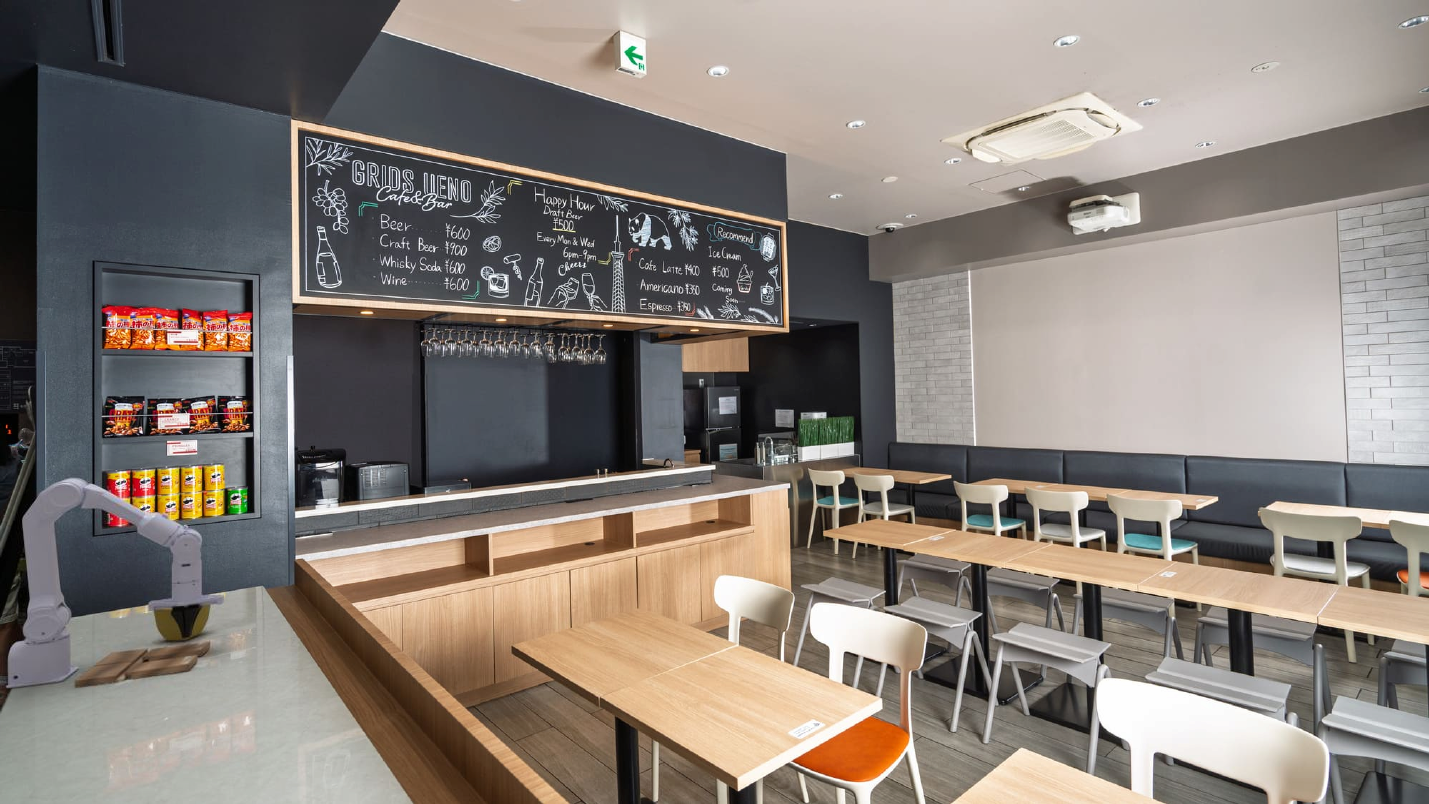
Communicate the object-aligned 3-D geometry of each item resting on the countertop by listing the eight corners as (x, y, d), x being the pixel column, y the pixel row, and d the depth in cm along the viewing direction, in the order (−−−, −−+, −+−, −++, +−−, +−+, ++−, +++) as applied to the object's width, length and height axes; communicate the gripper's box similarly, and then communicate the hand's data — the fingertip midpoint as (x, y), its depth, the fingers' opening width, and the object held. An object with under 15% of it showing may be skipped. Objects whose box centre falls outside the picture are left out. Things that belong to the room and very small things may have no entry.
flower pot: (186, 643, 173) (186, 608, 173) (152, 644, 173) (152, 608, 173) (212, 632, 181) (212, 598, 181) (180, 632, 182) (180, 598, 182)
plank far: (142, 663, 159) (141, 657, 159) (151, 655, 165) (151, 648, 165) (202, 655, 164) (202, 649, 164) (210, 647, 169) (210, 641, 169)
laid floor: (74, 687, 146) (74, 680, 146) (111, 658, 163) (111, 652, 163) (122, 681, 149) (122, 674, 149) (153, 653, 166) (153, 647, 166)
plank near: (124, 679, 150) (124, 672, 150) (135, 670, 156) (135, 663, 156) (188, 670, 155) (188, 663, 155) (197, 661, 160) (197, 654, 160)
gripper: (143, 587, 159) (143, 646, 159) (218, 581, 164) (218, 637, 164) (154, 580, 165) (154, 636, 165) (226, 574, 171) (226, 628, 171)
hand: (186, 636), depth 165 cm, fingers closed
